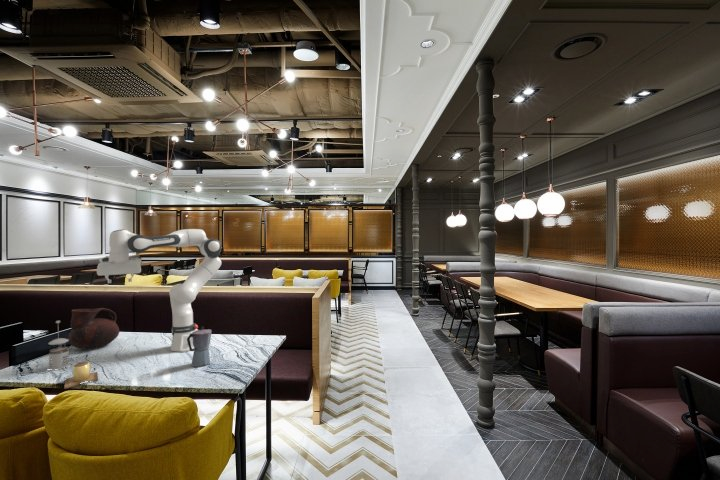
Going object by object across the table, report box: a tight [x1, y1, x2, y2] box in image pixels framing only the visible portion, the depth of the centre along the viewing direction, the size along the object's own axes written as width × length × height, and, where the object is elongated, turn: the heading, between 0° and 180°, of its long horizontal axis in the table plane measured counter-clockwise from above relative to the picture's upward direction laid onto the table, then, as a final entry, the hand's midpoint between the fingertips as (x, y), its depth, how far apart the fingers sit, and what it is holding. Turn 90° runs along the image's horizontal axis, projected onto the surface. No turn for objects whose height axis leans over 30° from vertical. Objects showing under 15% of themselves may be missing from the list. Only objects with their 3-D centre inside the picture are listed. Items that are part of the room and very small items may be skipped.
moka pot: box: [187, 326, 213, 367], centre depth 174 cm, size 10×15×20 cm, turn 161°
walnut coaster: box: [63, 371, 99, 389], centre depth 157 cm, size 12×12×1 cm
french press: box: [47, 320, 72, 370], centre depth 173 cm, size 10×12×25 cm
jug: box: [67, 307, 120, 350], centre depth 204 cm, size 25×25×25 cm
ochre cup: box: [72, 361, 91, 382], centre depth 156 cm, size 6×6×7 cm
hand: (119, 282), depth 185 cm, fingers open, 8 cm apart
